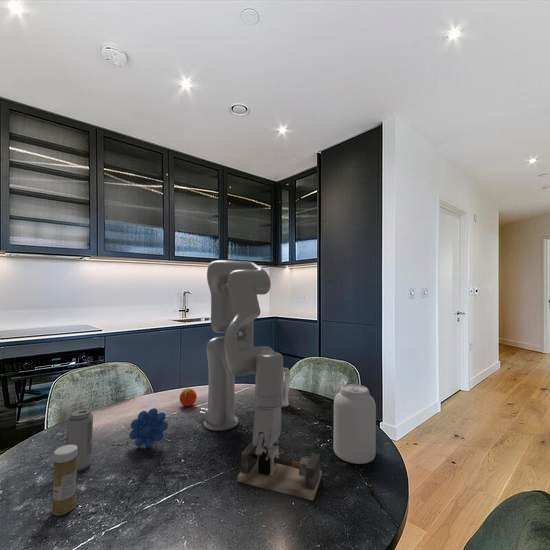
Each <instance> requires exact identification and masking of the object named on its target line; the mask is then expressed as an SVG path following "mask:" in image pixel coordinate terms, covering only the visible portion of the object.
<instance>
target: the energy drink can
mask: <svg viewBox="0 0 550 550" xmlns="http://www.w3.org/2000/svg"><path fill="white" fill-rule="evenodd" d="M69 415H70V416H69V418H68V419H67V425H66V426H67V430H66V445H76V446H77V448H78V453H77V458H76V473H77V472H81V471H84V470H86V469H87V468H88V467H89V466H90V464H91V463H92V460H93V436H94V435H93V432H94V431H93V429H94V415H93V413H92V411H91V409H90V408H80V409H75V410H74V411H71V412H70V413H69Z"/></svg>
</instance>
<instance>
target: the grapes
mask: <svg viewBox="0 0 550 550" xmlns="http://www.w3.org/2000/svg"><path fill="white" fill-rule="evenodd" d="M165 420H166V413H165V412H162V411H161V412H158V409H157V408H154V407H151V409H149V410H148V411H146V410H142V411H140V412H139V413H138V414H137V418H135V419H134V420H132V422H130V429H132V430H131V431H130V433H129V439H130V440H132V441H133V440H134V445H135V446H136V447H138V448H140V447H142V446H144V447H146V448H151V447H153V446H154V444H155V442H157V443H158V442H161V441H162V440H163V438H164V434H165V433H164V432H165V431H166V430H167V429H168V427H169V423H168V422H167V421H165Z"/></svg>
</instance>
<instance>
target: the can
mask: <svg viewBox="0 0 550 550" xmlns="http://www.w3.org/2000/svg"><path fill="white" fill-rule="evenodd" d="M376 416H377V405H376V401H375V399H374V397H373V396H371V395H370V390H369V389H368V387H366V386H365V385H361V384H356V383H355V384H354V383H350V384H349V383H348V384H343V385H341V387H340V388H339V392H338V393H336V395H335V396H334V399H333V443H332V445H333V452H334V454H335V455H336V456H337V458H338V459H340V460H343V461H345V462H347V463H351V464H357V465H358V464H359V465H360V464H361V465H363V464H368V463H370V462H372V461H374V460H375V458H376V455H377V451H376V450H377V440H376V439H377V417H376Z"/></svg>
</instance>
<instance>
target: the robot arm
mask: <svg viewBox="0 0 550 550" xmlns="http://www.w3.org/2000/svg"><path fill="white" fill-rule="evenodd" d="M206 271H207V272H206V280H207V284H208V288H209V291H210V325H211V330H212V331H213V332H215V333H219V334H225V335H224V336H216V337H213V338H211V339H209V340H208V342H207V344H206V346H205V347H206V356H207V357H206V358H207V365H208V366H207V367H208V368H207V369H208V386H207V387H208V388H207V389H208V391H207V393H208V395H207V400H208V401H207V402H208V403H207V408H206V407H201V408H200V411H199V414H198V415H199V416H202V417H205V418H204V420H203V421H202V422H203V427H204V428H206V429H207V430H210V431H216V432H219V431H220V432H221V431H227V430H232V429H233V428H235V427H236V426H238V424H239V418H238V416H236V415H235V391H236V390H235V388H236V387H235V384H236V383H235V380H236V379H235V378H236V377H235V376H237V377H241V376H243V377H244V376H248V375H254V376H255V379H254V380H255V387H254V389H255V390H254V392H255V393H254V397H255V398H254V405H255V411H254V417H253V427H252V441H253V446H256V445H257V448H256V455H257V456H258V473H260V474H264V475H270V459H269V453H270V448H271V447H272V445H274V446H279V437H280V436H281V433H282V408H283V407H282V406H283V367H284V356H283V355H282V353H280V352H278V351H275V350H274V349H273V348H272V347H270V346H268V345H262V346H261V345H260V346H254V337H255V335H254V332H255V329H254V327H255V326H254V325H255V324H254V321H255V320H256V319H257V318H258V317H260V315H261V308H260V303H259V299H258V296H259V295H260V296H261V295H266V294H268V293H269V292H270V291H271V290H270V289H271V286H272V285H271V284H272V283H271V278H270V276H269V274H268V271H266V270H265V269H263V268H262V267H261V266H259V265H258V264H256V263H255V262H253V261H245V260H230V259H229V260H228V259H220V260H219V259H218V260H213V261H211V262H210V263H209V265H208V266H207V270H206ZM237 334H238V335H237ZM264 444H266V445H267V446H265V445H264ZM263 449H267V450H266V453H265V452H263Z"/></svg>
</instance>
